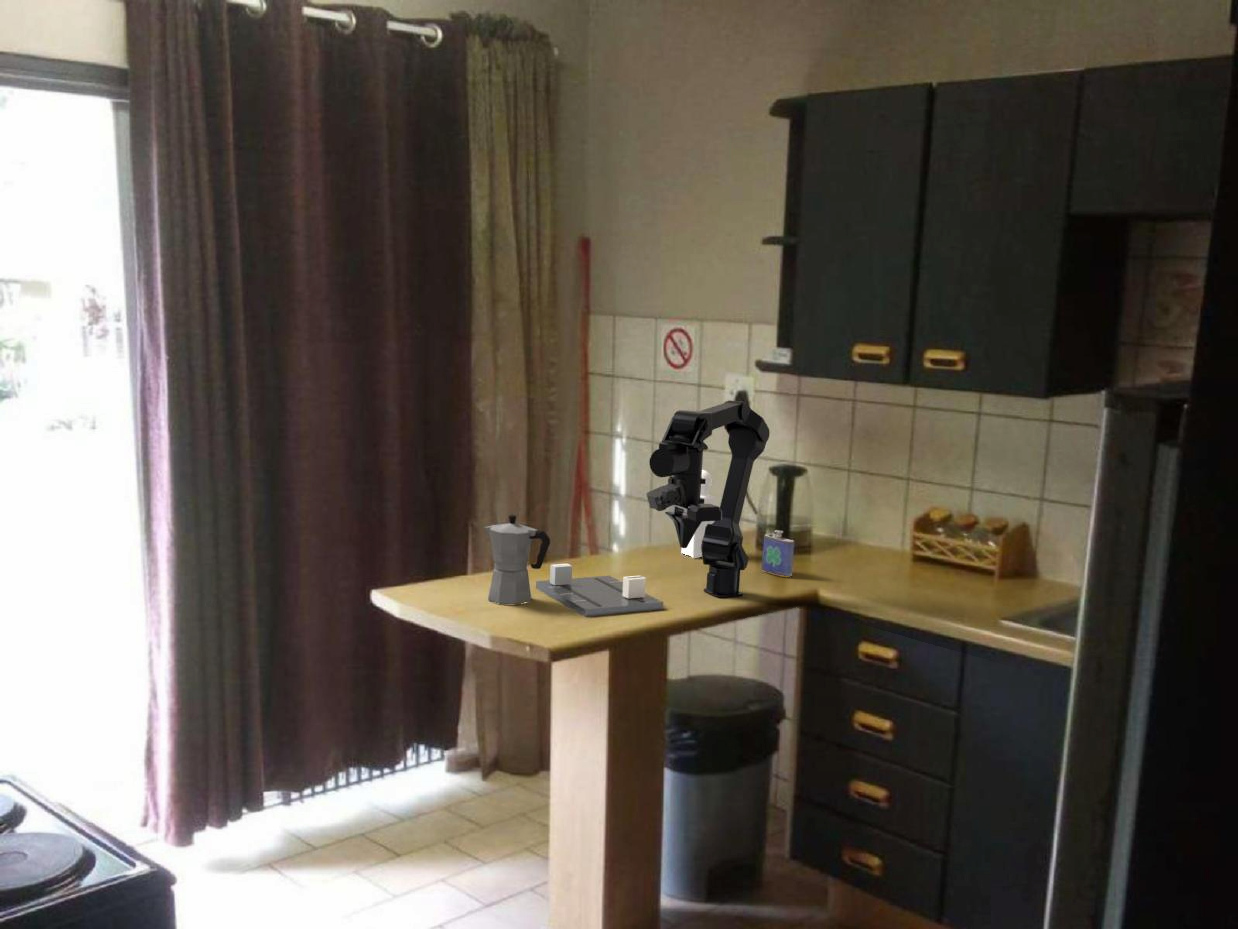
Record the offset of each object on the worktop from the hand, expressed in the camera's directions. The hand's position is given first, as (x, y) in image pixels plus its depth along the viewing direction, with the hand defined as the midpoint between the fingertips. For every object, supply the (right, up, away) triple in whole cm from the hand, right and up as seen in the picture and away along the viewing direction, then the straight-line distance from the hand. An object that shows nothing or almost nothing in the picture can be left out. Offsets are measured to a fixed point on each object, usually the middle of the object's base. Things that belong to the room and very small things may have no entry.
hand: (683, 547), depth 236 cm
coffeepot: (-35, -11, +2) cm, 37 cm away
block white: (-26, -9, +11) cm, 30 cm away
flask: (+24, -9, +38) cm, 46 cm away
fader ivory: (-10, -10, +4) cm, 15 cm away
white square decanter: (+6, -6, +54) cm, 55 cm away
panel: (-18, -11, +7) cm, 22 cm away
